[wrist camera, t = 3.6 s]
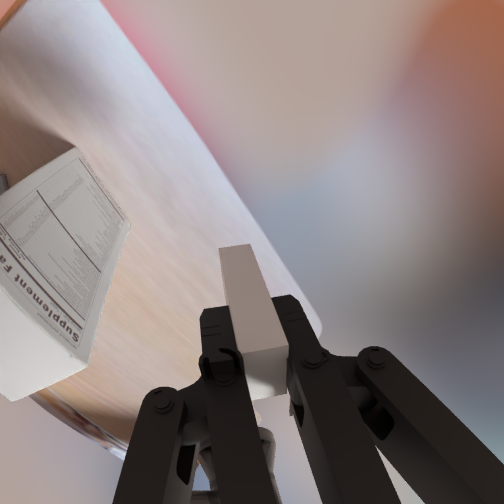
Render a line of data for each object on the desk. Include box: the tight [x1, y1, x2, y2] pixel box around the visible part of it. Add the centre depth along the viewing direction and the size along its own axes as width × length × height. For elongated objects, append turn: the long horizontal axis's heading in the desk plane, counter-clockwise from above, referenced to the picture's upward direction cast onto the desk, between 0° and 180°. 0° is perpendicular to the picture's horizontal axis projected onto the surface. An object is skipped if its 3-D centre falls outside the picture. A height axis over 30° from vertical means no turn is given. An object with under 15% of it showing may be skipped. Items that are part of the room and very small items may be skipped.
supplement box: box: [0, 147, 131, 402], centre depth 18 cm, size 10×9×17 cm
